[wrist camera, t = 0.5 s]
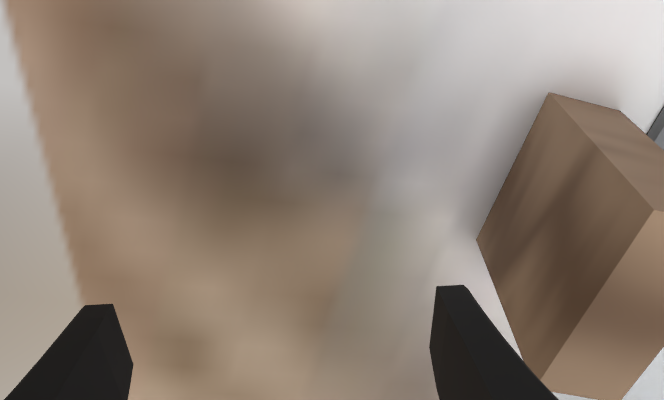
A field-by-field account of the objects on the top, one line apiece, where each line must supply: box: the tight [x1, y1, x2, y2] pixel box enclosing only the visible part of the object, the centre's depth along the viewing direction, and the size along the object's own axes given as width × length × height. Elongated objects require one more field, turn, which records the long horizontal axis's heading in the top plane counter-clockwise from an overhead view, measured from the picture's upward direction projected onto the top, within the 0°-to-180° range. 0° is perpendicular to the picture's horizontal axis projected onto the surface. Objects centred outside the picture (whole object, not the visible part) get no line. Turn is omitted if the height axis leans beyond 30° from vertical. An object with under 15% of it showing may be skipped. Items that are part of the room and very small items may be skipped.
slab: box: [476, 93, 664, 400], centre depth 20 cm, size 7×3×8 cm, turn 165°
